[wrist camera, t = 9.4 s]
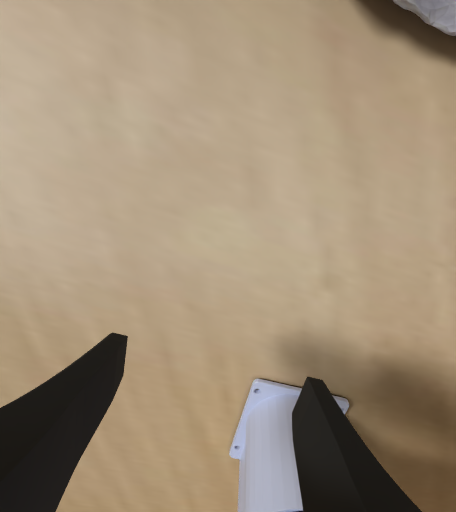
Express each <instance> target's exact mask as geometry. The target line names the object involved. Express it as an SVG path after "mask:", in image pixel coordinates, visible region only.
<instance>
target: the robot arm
mask: <svg viewBox="0 0 456 512" xmlns="http://www.w3.org/2000/svg"><path fill="white" fill-rule="evenodd" d="M127 338H128V336H125V335H121V334H116V333H111V334H109V335H108V336H107V337H105V338H104V339H103V340H102V341H101V342H99V343H98V344H97V345H96V346H94V347H93V348H92V349H91V350H89V351H88V352H87V353H86V354H84V355H83V356H82V357H80V358H79V359H78V360H76V361H75V362H73V363H72V364H71V365H69V366H68V367H67V368H65V369H64V370H62V371H61V372H59V373H58V374H56V375H55V376H53V377H52V378H50V379H49V380H47V381H46V382H45V383H43V384H41V385H40V386H38V387H37V388H35V389H33V390H32V391H30V392H28V393H27V394H25V395H23V396H21V397H20V398H18V399H16V400H14V401H13V402H11V403H9V404H7V405H5V406H3V407H1V408H0V512H55V511H56V509H57V507H58V505H59V502H60V500H61V498H62V496H63V494H64V491H65V489H66V487H67V485H68V483H69V480H70V478H71V476H72V474H73V472H74V470H75V468H76V466H77V464H78V462H79V460H80V458H81V456H82V454H83V453H84V451H85V449H86V447H87V445H88V444H89V442H90V440H91V438H92V437H93V435H94V433H95V431H96V429H97V428H98V426H99V424H100V422H101V421H102V419H103V417H104V415H105V413H106V412H107V410H108V408H109V406H110V404H111V402H112V401H113V398H114V396H115V394H116V391H117V389H118V387H119V384H120V382H121V380H122V377H123V373H124V364H125V356H126V347H127ZM255 389H259V390H255ZM348 408H349V402H348V400H347V399H345V398H342V397H338V396H333V395H332V394H331V393H330V391H329V389H328V388H327V386H326V385H325V383H324V382H323V380H320V379H316V378H311V377H307V379H306V381H305V383H304V386H303V388H298V387H293V386H289V385H285V384H280V383H276V382H271V381H267V380H263V379H255V380H254V381H253V383H252V386H251V389H250V392H249V395H248V398H247V401H246V404H245V407H244V409H243V412H242V415H241V418H240V421H239V424H238V427H237V430H236V433H235V436H234V439H233V442H232V445H231V448H230V454H229V455H230V456H231V457H232V458H236V459H240V468H239V493H238V512H422V511H421V510H420V509H419V508H418V507H417V506H416V505H415V504H414V503H413V502H412V501H411V500H410V499H409V497H408V496H407V495H406V494H405V493H404V492H403V491H402V490H401V489H400V487H399V486H398V485H397V484H396V483H395V481H394V480H393V479H392V478H391V477H390V475H389V474H388V473H387V472H386V471H385V470H384V468H383V467H382V466H381V465H380V463H379V462H378V461H377V459H376V458H375V457H374V456H373V454H372V453H371V451H370V450H369V449H368V447H367V446H366V445H365V443H364V442H363V441H362V439H361V438H360V436H359V435H358V434H357V432H356V431H355V429H354V428H353V426H352V425H351V423H350V422H349V420H348V419H347V417H346V416H345V413H346V411H347V410H348Z"/></svg>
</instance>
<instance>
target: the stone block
mask: <svg viewBox="0 0 456 512" xmlns="http://www.w3.org/2000/svg"><path fill="white" fill-rule="evenodd" d="M393 2H394V3H395V4H398V5H399V6H400V7H402V8H403V9H406V10H410V11H412V12H414V13H415V14H416V15H418V16H419V17H420V18H421V19H422V20H423V21H424V22H425V23H427V24H429V25H431V26H433V27H435V28H437V29H439V30H441V31H442V32H444V33H446V34H448V35H452V36H456V0H393Z"/></svg>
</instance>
